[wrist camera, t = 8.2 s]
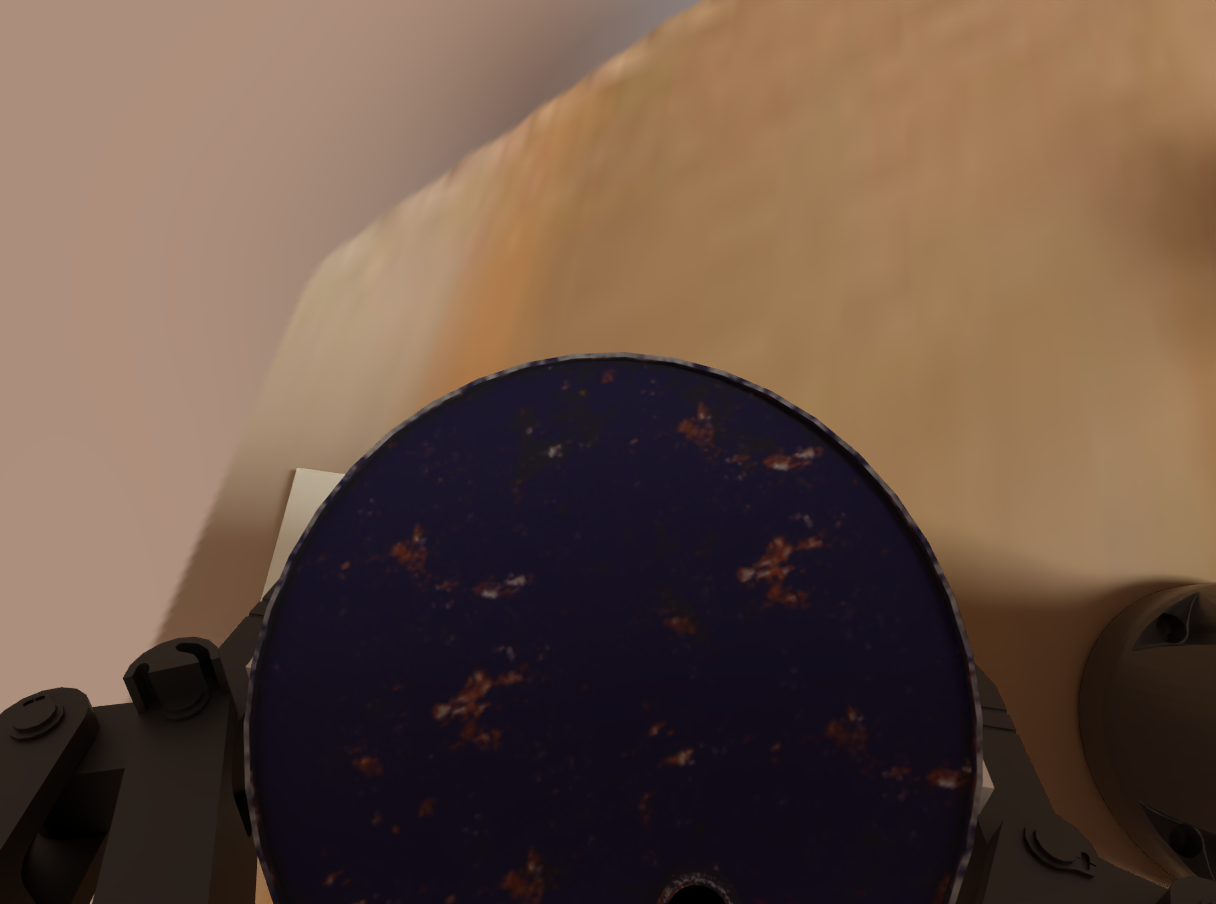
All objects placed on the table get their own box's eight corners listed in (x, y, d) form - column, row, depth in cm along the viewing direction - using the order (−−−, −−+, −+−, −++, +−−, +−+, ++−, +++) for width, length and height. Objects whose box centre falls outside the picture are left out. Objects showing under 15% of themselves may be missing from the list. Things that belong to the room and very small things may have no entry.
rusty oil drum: (448, 581, 24) (161, 499, 10) (694, 473, 25) (767, 247, 10) (550, 867, 21) (364, 1337, 7) (823, 739, 22) (1162, 933, 8)
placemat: (535, 503, 38) (532, 499, 37) (489, 764, 35) (484, 767, 34) (305, 471, 40) (297, 467, 39) (238, 720, 36) (226, 722, 35)
